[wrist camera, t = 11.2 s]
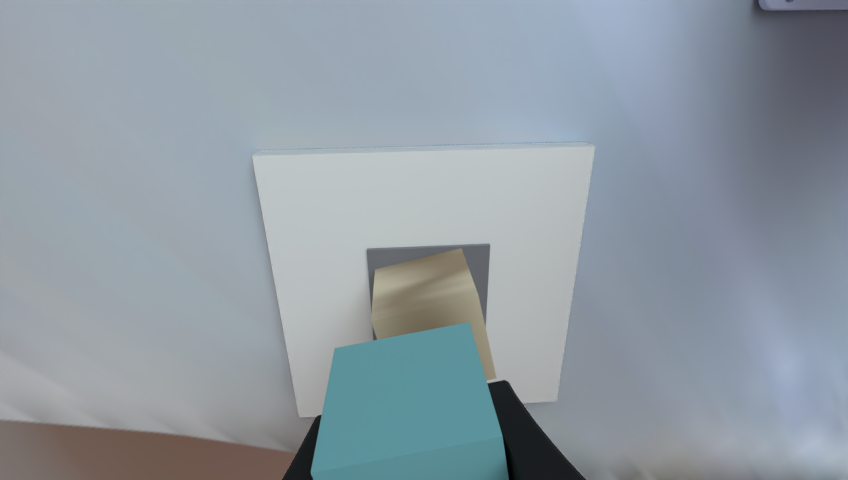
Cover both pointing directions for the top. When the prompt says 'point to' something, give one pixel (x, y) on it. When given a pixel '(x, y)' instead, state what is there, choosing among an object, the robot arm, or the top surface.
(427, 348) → the teal brick
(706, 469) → the top surface
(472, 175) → the baseplate
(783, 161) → the top surface
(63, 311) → the top surface
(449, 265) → the birch brick
